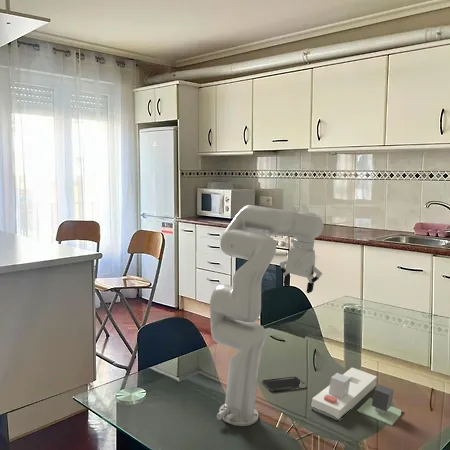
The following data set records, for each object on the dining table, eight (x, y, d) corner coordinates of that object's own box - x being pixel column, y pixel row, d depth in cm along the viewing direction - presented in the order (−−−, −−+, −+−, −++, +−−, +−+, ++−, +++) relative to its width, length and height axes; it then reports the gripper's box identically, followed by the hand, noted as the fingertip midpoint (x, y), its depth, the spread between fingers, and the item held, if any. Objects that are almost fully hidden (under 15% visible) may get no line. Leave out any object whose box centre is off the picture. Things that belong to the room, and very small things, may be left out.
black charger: (385, 416, 169) (388, 394, 167) (370, 410, 172) (374, 389, 170) (390, 410, 173) (393, 389, 171) (376, 405, 176) (379, 384, 174)
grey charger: (341, 403, 170) (344, 382, 169) (327, 398, 173) (330, 377, 172) (347, 398, 174) (350, 377, 173) (334, 393, 177) (337, 372, 176)
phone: (261, 380, 184) (296, 376, 191) (260, 383, 185) (295, 378, 191) (271, 391, 177) (307, 386, 183) (270, 394, 178) (306, 389, 184)
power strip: (338, 421, 163) (340, 407, 162) (310, 409, 169) (312, 395, 168) (375, 386, 191) (377, 374, 190) (350, 376, 196) (352, 365, 195)
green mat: (391, 425, 164) (392, 424, 164) (357, 411, 171) (357, 410, 171) (403, 412, 174) (403, 410, 174) (369, 398, 181) (370, 397, 181)
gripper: (278, 241, 189) (273, 285, 192) (320, 251, 179) (313, 297, 182) (288, 239, 195) (282, 281, 198) (329, 248, 185) (322, 293, 188)
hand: (297, 289), depth 190 cm, fingers open, 9 cm apart
